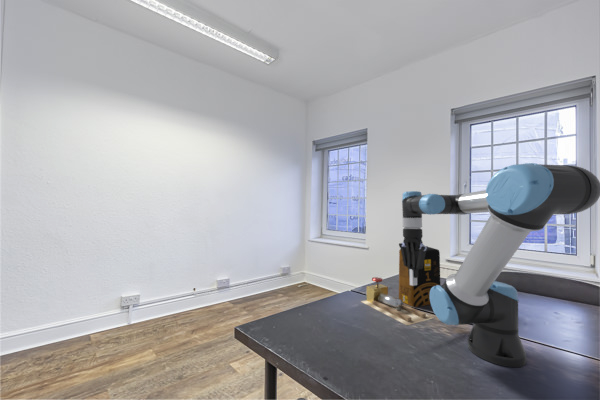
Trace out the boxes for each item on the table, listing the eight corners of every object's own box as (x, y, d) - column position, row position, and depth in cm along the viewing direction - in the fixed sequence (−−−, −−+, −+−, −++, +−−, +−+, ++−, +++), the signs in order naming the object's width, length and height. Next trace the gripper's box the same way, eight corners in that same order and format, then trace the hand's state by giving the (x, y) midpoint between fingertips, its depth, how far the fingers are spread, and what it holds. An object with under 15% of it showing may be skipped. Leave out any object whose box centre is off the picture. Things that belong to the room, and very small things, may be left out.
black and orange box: (443, 305, 124) (443, 247, 124) (413, 311, 116) (413, 249, 117) (425, 298, 134) (424, 244, 134) (396, 303, 126) (396, 246, 127)
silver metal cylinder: (402, 310, 114) (403, 299, 114) (395, 311, 111) (396, 300, 111) (384, 303, 122) (385, 292, 123) (377, 304, 120) (378, 293, 120)
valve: (387, 301, 125) (387, 278, 125) (373, 304, 121) (373, 281, 121) (376, 296, 132) (376, 275, 132) (362, 298, 128) (362, 276, 128)
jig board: (434, 321, 106) (434, 314, 106) (407, 329, 99) (407, 321, 99) (385, 299, 131) (384, 293, 131) (360, 304, 124) (360, 298, 124)
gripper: (432, 228, 103) (433, 288, 102) (406, 227, 115) (407, 280, 113) (419, 229, 100) (420, 290, 98) (393, 227, 111) (394, 282, 110)
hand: (413, 284), depth 106 cm, fingers closed
